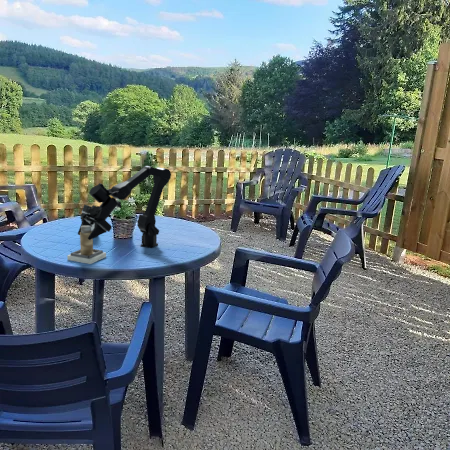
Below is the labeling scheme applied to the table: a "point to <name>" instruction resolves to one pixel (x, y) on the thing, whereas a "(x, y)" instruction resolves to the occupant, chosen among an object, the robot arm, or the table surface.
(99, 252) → the stand
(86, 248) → the pepper mill
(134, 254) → the table surface
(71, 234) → the table surface
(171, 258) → the table surface
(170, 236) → the table surface
